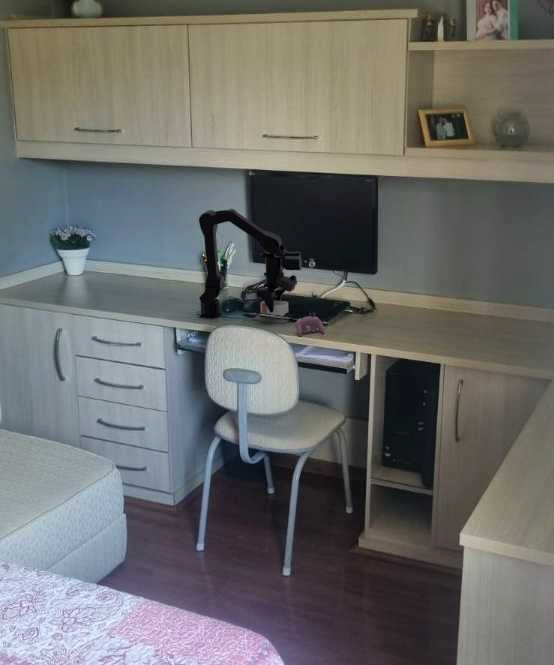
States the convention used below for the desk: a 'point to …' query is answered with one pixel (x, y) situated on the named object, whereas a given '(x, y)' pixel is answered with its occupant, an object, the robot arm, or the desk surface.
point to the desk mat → (270, 319)
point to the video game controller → (310, 320)
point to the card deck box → (275, 308)
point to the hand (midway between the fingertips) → (274, 310)
